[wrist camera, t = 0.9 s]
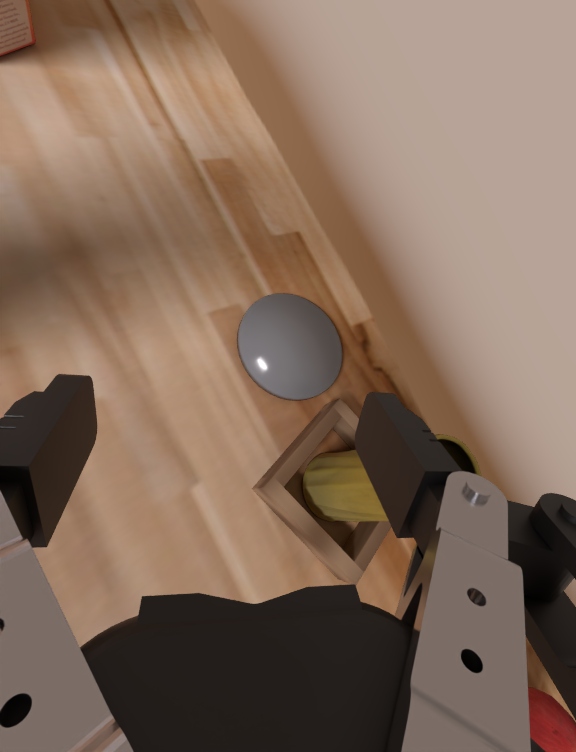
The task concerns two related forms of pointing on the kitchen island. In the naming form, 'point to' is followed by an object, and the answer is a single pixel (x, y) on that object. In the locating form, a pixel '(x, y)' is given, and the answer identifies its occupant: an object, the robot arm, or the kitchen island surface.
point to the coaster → (289, 347)
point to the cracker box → (15, 25)
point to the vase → (359, 483)
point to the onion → (550, 723)
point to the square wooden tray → (271, 490)
